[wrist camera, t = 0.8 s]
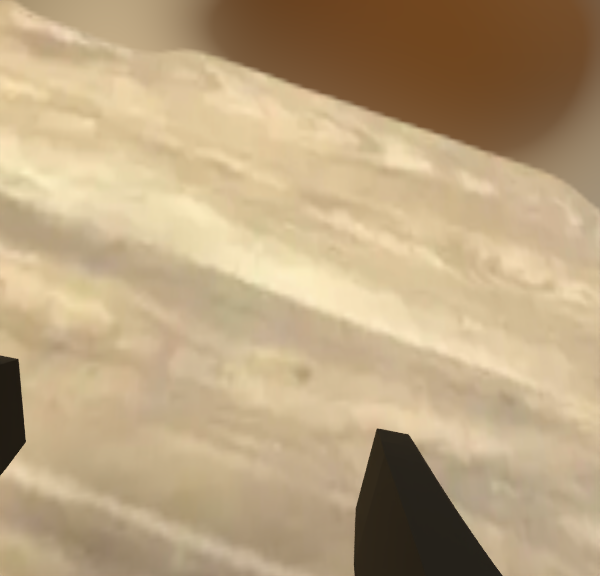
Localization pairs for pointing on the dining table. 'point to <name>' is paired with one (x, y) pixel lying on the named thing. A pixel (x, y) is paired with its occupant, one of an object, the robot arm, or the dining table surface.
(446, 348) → the dining table surface
